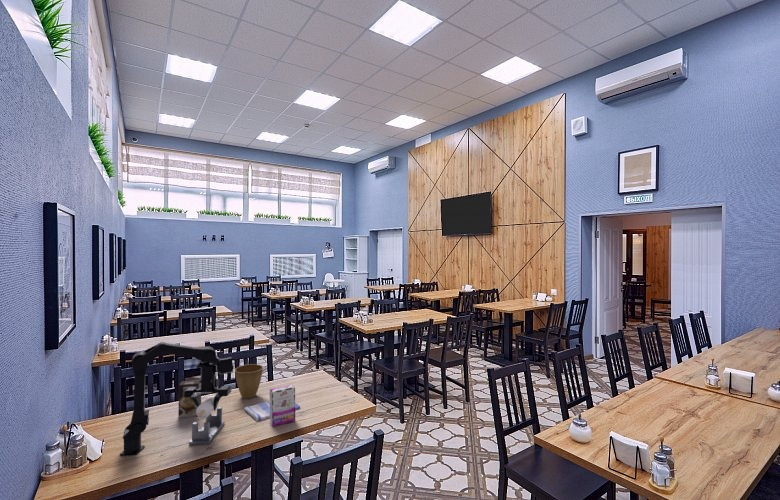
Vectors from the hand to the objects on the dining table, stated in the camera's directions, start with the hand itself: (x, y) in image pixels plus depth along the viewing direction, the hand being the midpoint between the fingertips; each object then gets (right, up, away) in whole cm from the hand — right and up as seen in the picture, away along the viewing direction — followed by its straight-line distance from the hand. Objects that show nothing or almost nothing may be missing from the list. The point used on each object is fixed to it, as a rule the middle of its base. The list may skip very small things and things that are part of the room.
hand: (207, 410), depth 166 cm
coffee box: (-19, -11, +20) cm, 30 cm away
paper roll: (0, +2, 0) cm, 2 cm away
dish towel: (+21, -12, +26) cm, 35 cm away
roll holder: (0, -11, 0) cm, 11 cm away
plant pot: (+2, -11, +43) cm, 45 cm away
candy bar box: (+30, -11, +12) cm, 34 cm away
